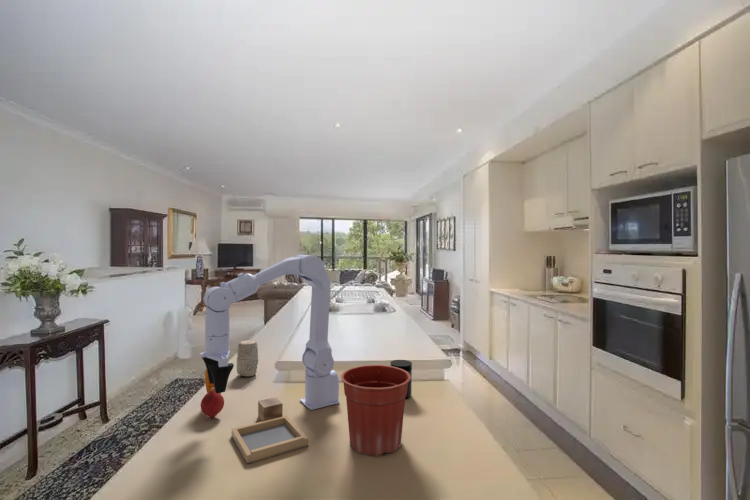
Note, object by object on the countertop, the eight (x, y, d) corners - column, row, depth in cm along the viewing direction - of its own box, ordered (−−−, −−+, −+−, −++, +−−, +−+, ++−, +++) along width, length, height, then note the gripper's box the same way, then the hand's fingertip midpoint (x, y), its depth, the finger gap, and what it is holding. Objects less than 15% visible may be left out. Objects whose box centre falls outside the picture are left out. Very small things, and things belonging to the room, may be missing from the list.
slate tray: (286, 422, 101) (286, 413, 101) (308, 445, 89) (308, 436, 89) (231, 436, 93) (231, 427, 93) (247, 464, 82) (247, 453, 82)
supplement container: (413, 400, 116) (414, 366, 116) (391, 401, 115) (392, 366, 115) (409, 391, 123) (409, 359, 123) (388, 392, 122) (388, 359, 122)
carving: (261, 374, 138) (262, 341, 137) (242, 380, 132) (242, 345, 132) (252, 370, 142) (252, 338, 142) (233, 375, 136) (233, 342, 136)
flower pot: (331, 433, 96) (332, 368, 95) (391, 421, 102) (391, 361, 102) (354, 469, 80) (355, 392, 80) (422, 452, 87) (423, 382, 87)
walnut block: (276, 413, 107) (276, 397, 107) (282, 420, 103) (282, 403, 102) (258, 417, 104) (258, 400, 104) (263, 424, 100) (263, 407, 100)
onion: (215, 423, 100) (215, 393, 100) (195, 421, 101) (195, 391, 101) (228, 414, 106) (228, 385, 105) (209, 412, 107) (209, 383, 107)
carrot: (205, 410, 108) (205, 357, 107) (204, 403, 112) (204, 352, 112) (224, 407, 110) (224, 354, 110) (222, 400, 114) (222, 350, 114)
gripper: (195, 330, 102) (195, 381, 102) (205, 342, 90) (205, 400, 90) (223, 327, 106) (223, 376, 106) (236, 338, 94) (236, 394, 94)
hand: (217, 387), depth 98 cm, fingers open, 7 cm apart
